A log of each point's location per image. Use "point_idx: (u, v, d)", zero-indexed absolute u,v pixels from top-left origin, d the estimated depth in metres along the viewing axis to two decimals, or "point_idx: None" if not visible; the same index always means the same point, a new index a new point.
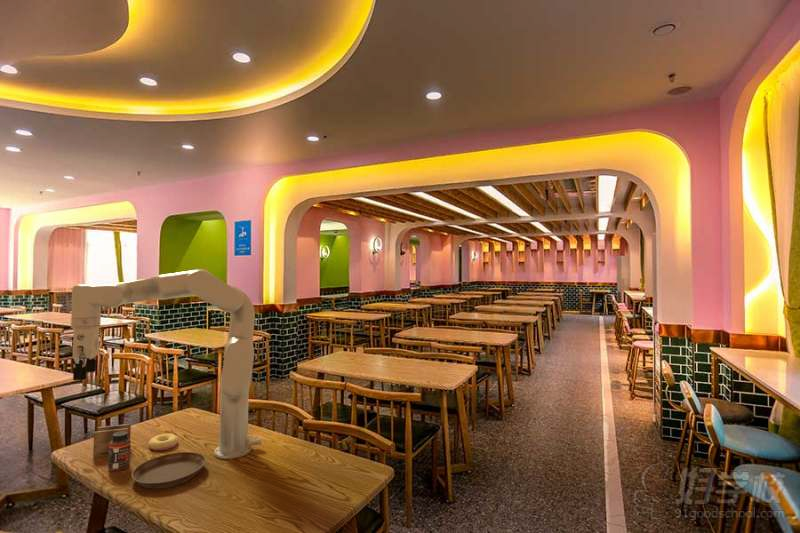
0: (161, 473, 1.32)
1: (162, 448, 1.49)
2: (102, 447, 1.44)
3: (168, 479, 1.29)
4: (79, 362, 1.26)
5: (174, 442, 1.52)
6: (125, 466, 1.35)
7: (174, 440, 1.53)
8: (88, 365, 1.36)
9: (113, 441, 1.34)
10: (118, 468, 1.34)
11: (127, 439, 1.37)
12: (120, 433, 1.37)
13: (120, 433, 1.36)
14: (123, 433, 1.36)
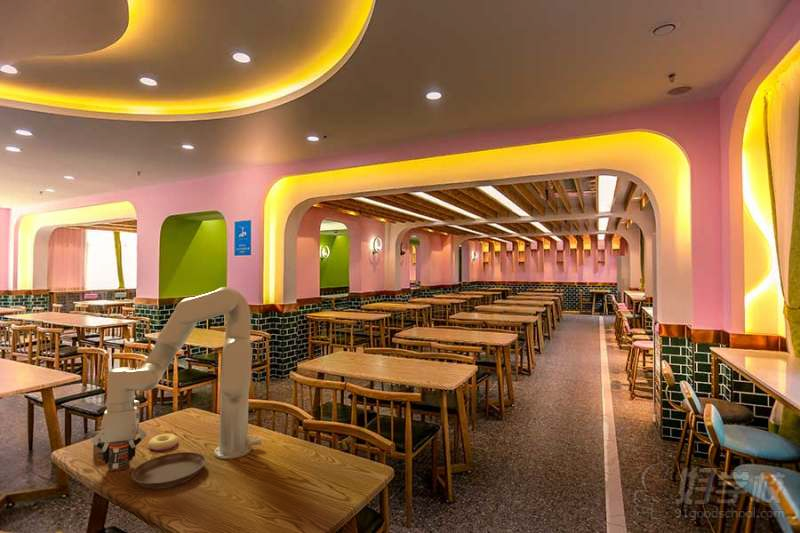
0: (161, 473, 1.32)
1: (162, 448, 1.49)
2: None
3: (168, 479, 1.29)
4: None
5: (174, 442, 1.52)
6: (125, 466, 1.35)
7: (174, 440, 1.53)
8: (108, 454, 1.35)
9: None
10: (118, 468, 1.34)
11: None
12: None
13: None
14: None
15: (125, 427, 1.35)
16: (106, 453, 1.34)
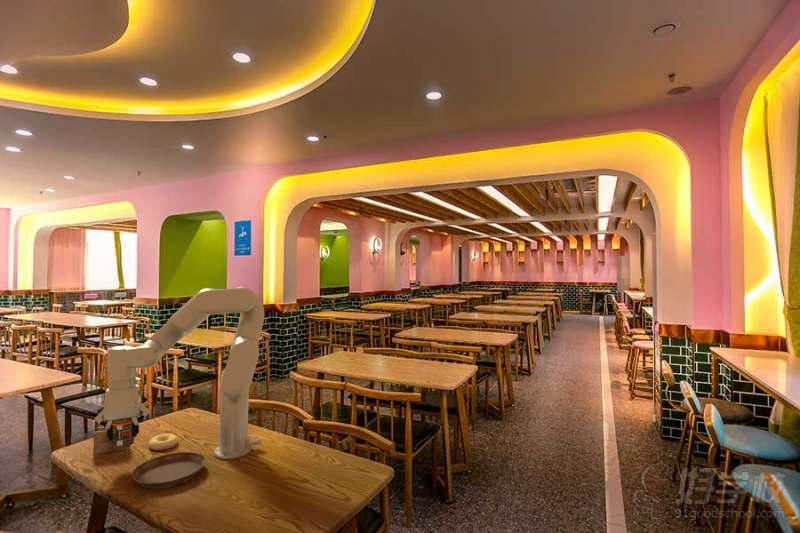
0: (161, 473, 1.32)
1: (162, 448, 1.49)
2: (102, 447, 1.44)
3: (168, 479, 1.29)
4: None
5: (174, 442, 1.52)
6: (129, 443, 1.36)
7: (174, 440, 1.53)
8: None
9: None
10: (122, 445, 1.34)
11: None
12: None
13: None
14: None
15: (127, 404, 1.35)
16: (110, 431, 1.34)
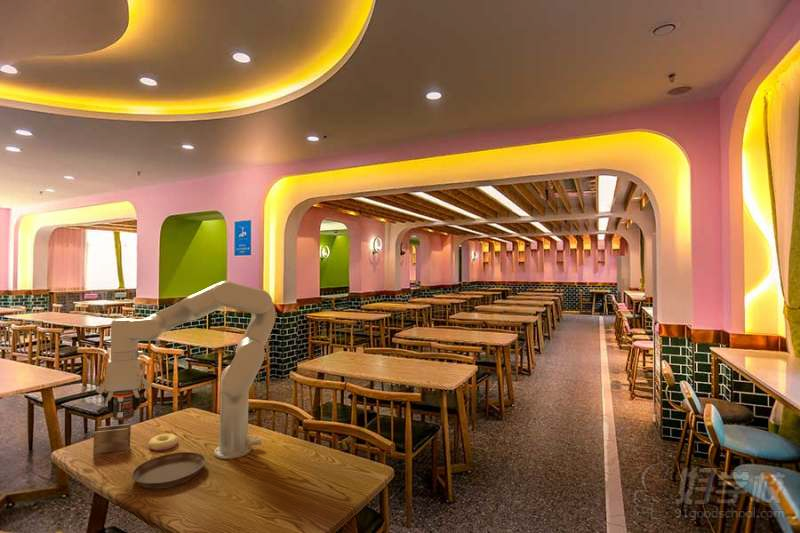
0: (161, 473, 1.32)
1: (162, 448, 1.49)
2: (102, 447, 1.44)
3: (168, 479, 1.29)
4: None
5: (174, 442, 1.52)
6: (130, 416, 1.35)
7: (174, 440, 1.53)
8: None
9: None
10: (123, 417, 1.34)
11: None
12: None
13: None
14: None
15: (129, 376, 1.35)
16: (111, 402, 1.34)
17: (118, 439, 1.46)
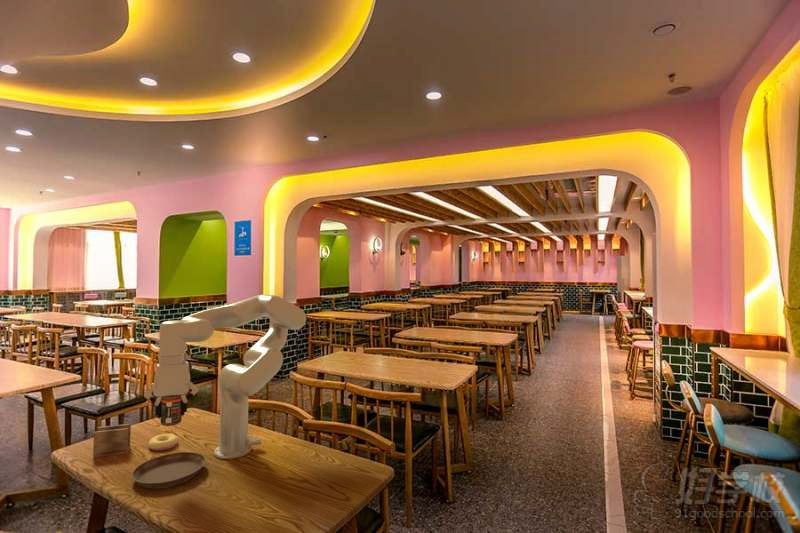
0: (161, 473, 1.32)
1: (162, 448, 1.49)
2: (102, 447, 1.44)
3: (168, 479, 1.29)
4: None
5: (174, 442, 1.52)
6: (178, 421, 1.31)
7: (174, 440, 1.52)
8: None
9: None
10: (171, 423, 1.30)
11: None
12: None
13: None
14: None
15: (178, 381, 1.31)
16: (159, 407, 1.30)
17: (118, 439, 1.46)
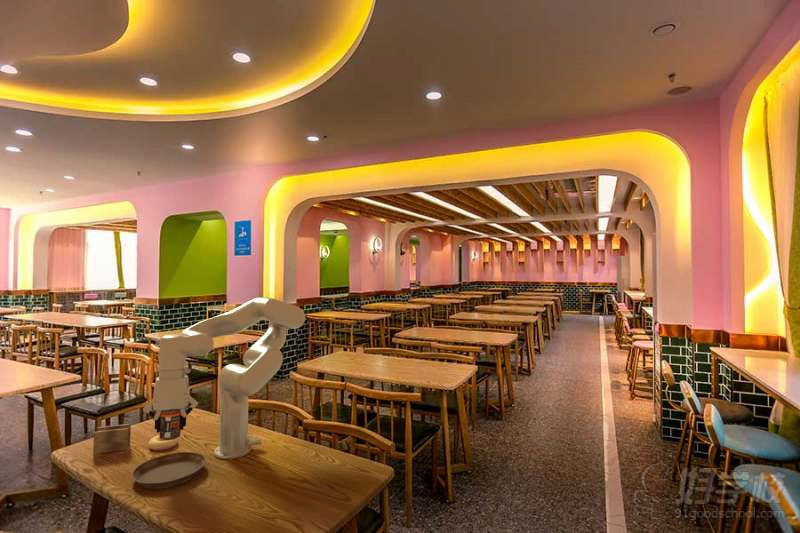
0: (161, 473, 1.32)
1: (161, 448, 1.49)
2: (102, 447, 1.44)
3: (168, 479, 1.29)
4: None
5: (174, 442, 1.52)
6: (177, 435, 1.31)
7: (174, 440, 1.52)
8: None
9: None
10: (170, 437, 1.30)
11: None
12: None
13: None
14: None
15: (177, 395, 1.31)
16: (158, 422, 1.29)
17: (118, 439, 1.46)
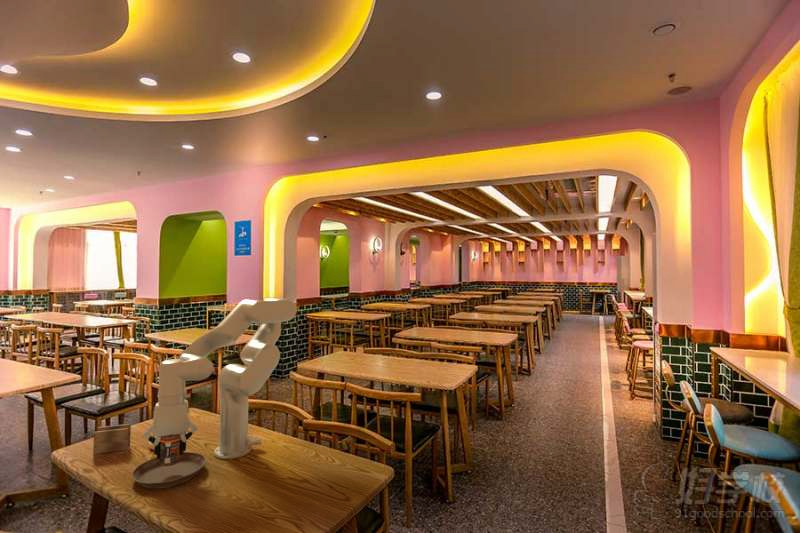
0: (161, 473, 1.32)
1: None
2: (102, 447, 1.44)
3: (168, 479, 1.29)
4: None
5: None
6: (177, 461, 1.31)
7: None
8: None
9: None
10: (170, 463, 1.30)
11: None
12: None
13: None
14: None
15: (177, 421, 1.31)
16: (158, 447, 1.30)
17: (118, 439, 1.46)
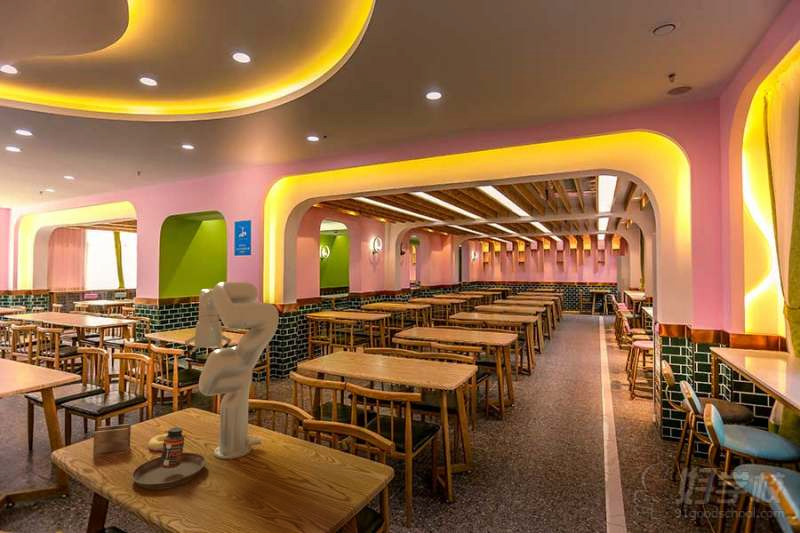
0: (161, 474, 1.32)
1: (161, 448, 1.49)
2: (102, 447, 1.44)
3: (168, 480, 1.29)
4: None
5: None
6: (175, 465, 1.31)
7: None
8: None
9: (167, 436, 1.32)
10: (168, 465, 1.30)
11: (181, 436, 1.33)
12: (176, 429, 1.34)
13: (175, 429, 1.33)
14: (178, 429, 1.33)
15: (213, 335, 1.68)
16: (194, 353, 1.66)
17: (118, 439, 1.46)
